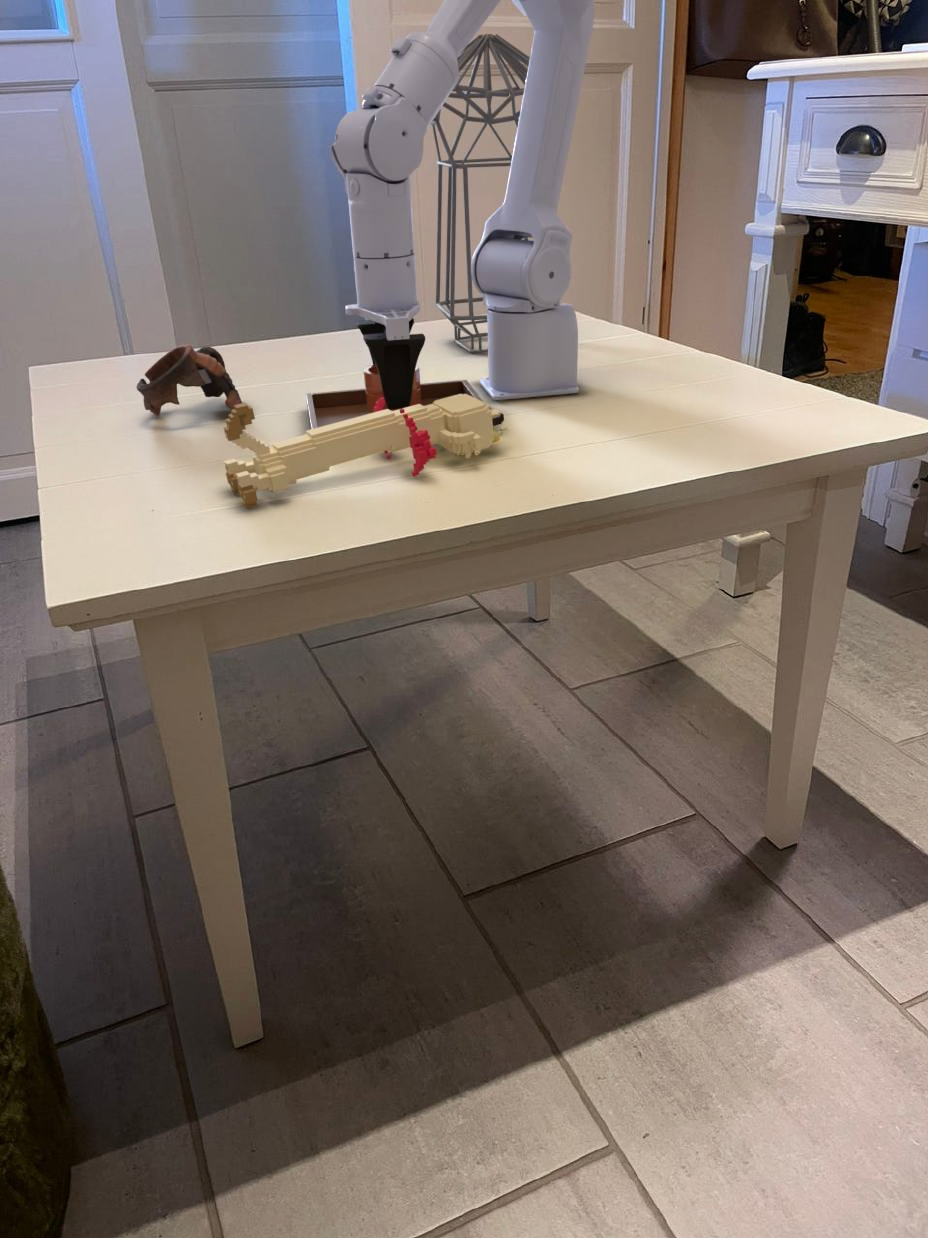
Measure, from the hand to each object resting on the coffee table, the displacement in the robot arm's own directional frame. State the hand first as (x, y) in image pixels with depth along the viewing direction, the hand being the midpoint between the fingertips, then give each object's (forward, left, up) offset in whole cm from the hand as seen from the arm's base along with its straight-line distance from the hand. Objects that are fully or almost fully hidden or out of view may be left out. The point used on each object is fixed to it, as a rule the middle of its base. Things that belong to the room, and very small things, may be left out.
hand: (394, 399), depth 94 cm
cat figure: (+3, +14, -2) cm, 15 cm away
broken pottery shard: (+20, -10, -2) cm, 22 cm away
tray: (0, 0, -2) cm, 2 cm away
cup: (0, 0, -1) cm, 1 cm away
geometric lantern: (-17, -31, -2) cm, 35 cm away
